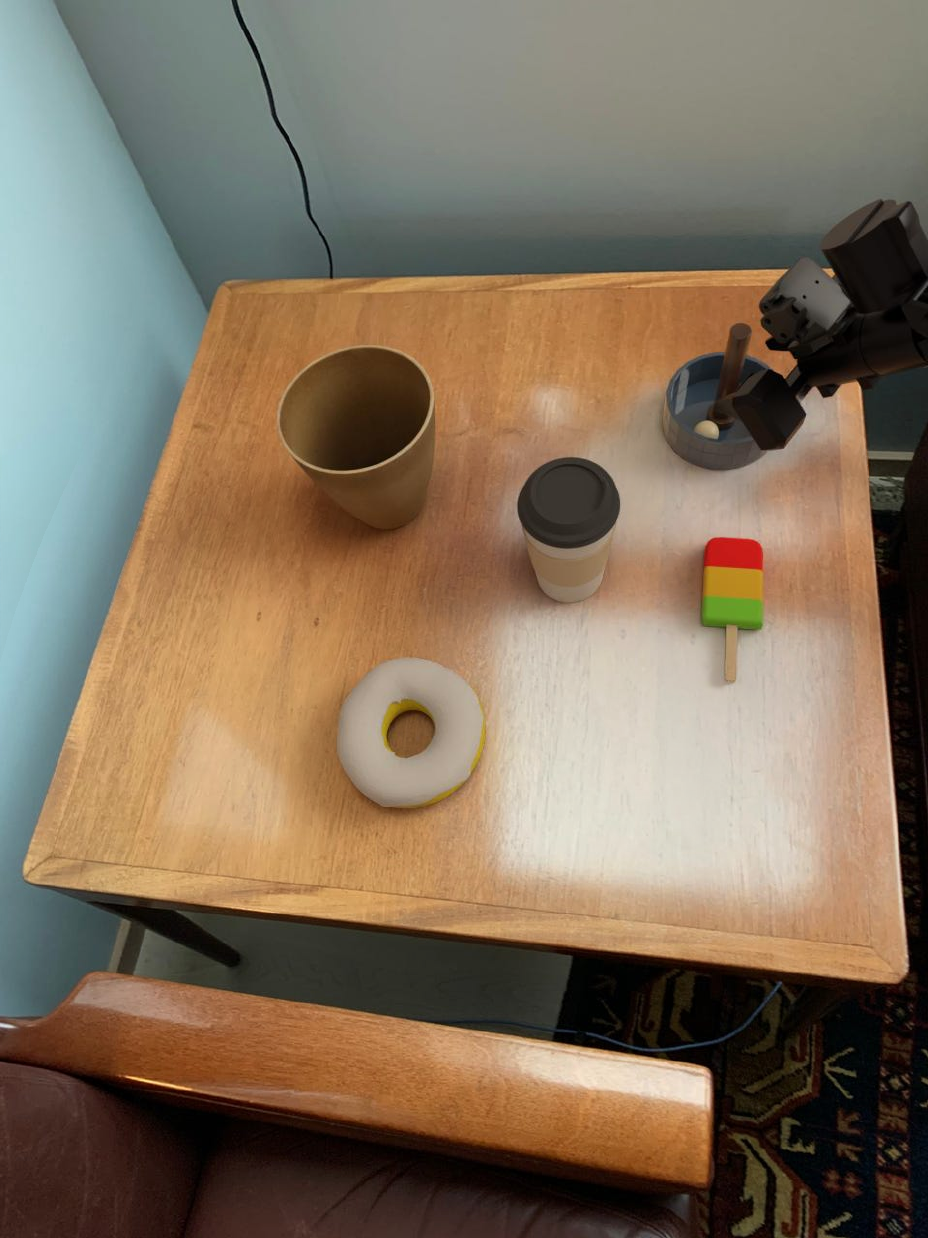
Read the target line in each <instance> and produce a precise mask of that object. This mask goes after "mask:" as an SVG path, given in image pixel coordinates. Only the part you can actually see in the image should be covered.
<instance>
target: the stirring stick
mask: <svg viewBox="0 0 928 1238" xmlns="http://www.w3.org/2000/svg"><path fill="white" fill-rule="evenodd" d="M752 333H753V330H752V328H751V326H750V325H749V324H747V323H745V322H738V323H734V324H733V325H732V326H731V327H730V328H729V332H728V336H727V341H726V346H725V350H724V352H725V355H724V360H723V364H722V369H721V374H720V378H719V383H718V388H717V392H716V397H715V401H716V400H718V399H720V398H722V397H724V396H726V395H729V394H731V393H734V392H736V390H737V389H738V387H739V382H740V378H741V374H742V370H743V366H744V362H745V358H746V355H748V349H749V345H750V342H751V337H752ZM706 421H712V422H713V423H715V424H716V425H717V427H718V429H719V430H726V429H729V428H730V427H732V426H733V424H734V423H735V418H733V417H731V416H728V415H726V414H724V413H722V412H719V411H718V410H717V408H716V407H715V405H714V403H713V404H712V405H711V406H710V407H709V408H708V411H707V416H706Z"/></svg>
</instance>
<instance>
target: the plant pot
mask: <svg viewBox="0 0 928 1238" xmlns="http://www.w3.org/2000/svg"><path fill="white" fill-rule="evenodd" d="M288 383H289V384H288V385H287V386H286V388H285V390H284V391H283V393H282V395H281V397H280V399H279V403H278V405H277V409H276V429H277V433H278V434H277V435H278V437H279V439H280V442H281V444H282V446H283V447H284V449H285V450H286V451H287V452H288V454H289V455H290V456H291V457H292V459H293V461H295V462H296V464H297V465H298V466H299V467H300V468H301V469H302V471H303V472H304V473H305V474H306V475H307V476H308V478H309V479H310V480H311V481H312V482H313V483H314V484H315V485H316V486H317V487H318V488H319V489H320V490H321V491H322V493H324V494H325V495H326V496H327V497H329V498H330V499H331V500H332V501H333V502H334V503H335V504H337V505H338V506H339V507H340V508H342V509H343V510H345V511H346V512H347V513H348V514H350V515H351V516H353V517H355V518H356V519H358V520H359V521H361V522H363V523H365V524H366V525H368V526H370V527H372V528H374V529H378V530H385V531H386V530H395V529H398V528H399V529H400V528H402V527H404V526H406V525H408V524H409V523H412V522H413V521H414V520H415V518H417V516H418V515H419V513H420V512H421V510H422V508H423V505H424V503H425V499H426V496H427V493H428V491H429V486H430V482H431V478H432V472H433V466H434V457H435V448H436V446H435V445H436V405H435V392H434V386H433V384H432V380H431V379H430V376H429V374H428V373H427V371H426V369H425V368H424V367H423V365H422V364H421V363H420V362H419V361H417V360H416V359H415V358H414V357H412V356H411V355H409V354H407V353H405V352H403V351H401V350H399V349H396V348H394V347H390V346H386V345H385V346H384V345H379V344H359V345H351V346H345V347H343V348H339V349H334V350H333V351H330V352H327V353H325V354H324V355H322V356H319V357H318V358H316V359H315V360H313V361H311V362H310V363H309V364H307V365H306V366H305V367H304V368H302V369H301V370H300V371H299V372H298V373H297V374H296V375H295V376H294V377H293V379H291V381H290V382H288Z"/></svg>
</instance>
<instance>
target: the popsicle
mask: <svg viewBox="0 0 928 1238" xmlns="http://www.w3.org/2000/svg"><path fill="white" fill-rule="evenodd" d="M702 570H703V571H702V576H703V577H702V597H701V600H702V602H701V624H702V625H703V626H706V627H717V628H719V627H720V628H725V665H724V666H725V669H724V671H725V672H724V677H725V681H726V682H729V683H734V682H736V680H737V677H738V675H737V674H738V673H737V669H738V629H745V630H746V629H747V630H755V631H756V630H757V631H761V630H762V629H763V626H764V552H763V547H762V544H761V543H760V542H759V541H757V540H755V539H751V538H739V537H726V536H725V537H724V536H719V537H718V536H717V537H713V538H711V539H709V540H707V543H706V544H705V546H704V551H703V569H702Z"/></svg>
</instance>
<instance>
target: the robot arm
mask: <svg viewBox="0 0 928 1238" xmlns="http://www.w3.org/2000/svg"><path fill="white" fill-rule="evenodd" d="M921 225H922V224H921V220H920V217H919V214H918V211H917V209H916V208H915V206H914V204H913V202H912V201H910V200H906V201H904V202H901V203H898V202H897V201H896V200H895V199H885V200H883V199H882V198H879V199H876V200H874V201H871V202H869V203H868V204H865V205H864V206H862V207H860V208H858V209H857V210H855V211H853V212H852V213H850V214H849V215H848V216H846V217H845V218H843V219H842V220H841V221H839V222H838V223H836V225H834V226H833V227H832V228H831V229H830V230H828V232H827V233H826V234H825V235H824V236H823V238H822V239H821V241H820V243H819V246H818V247H819V248H820V251H821V252H822V254H823V256H824V257H825V259H826V261H827V264H828V265H829V266H830V268H831V270H832V271H833V273H834V274H833V275H832V276H830V274H829V273H827V271H825V270H824V269H823V268H822V267H821V266H820V265H819V264H818V263H817V262H816V261H815V260H813V259H812V258H811V257H807V256H803V257H800V258H798V260H796V262H794V263H793V264H792V265H791V266H790V268H788V269H787V270H786V271H784V273H783V274H782V275H781V276H780V277H779V278H778V279H777V280H776V281H775V283H774V284H773V285H772V286H771V287H770V289H769V290H768V291H767V292H766V293H765V295H764V296H763V297H762V298H761V299H760V301H759V303H758V309H759V311H760V313H761V314H762V317H761V318H760V320H759V321H760V326H761V327H762V329H764V330H765V331H766V332H767V333H768V334H769V335H770V336H769V337H768V338H767V339H766V340H765V341H764V344H765V346H766V347H767V349H768V350H769V351H774V352H789V353H790V355H791V356H792V358H793V359H794V360H796V365H794V367H793V368H792V369H791V371H790V372H789V373H788V374H787V376H786V377H784V376H783V374H781V373H779V372H777V371H775V370H774V369H773V370H774V371H773V370H771V369H766V370H761V371H759V372H757V373H756V374H754V375H753V373H752V372H751V373H750V374H749V376H748V377H747V378H746V379H745V380H744V382H743V383H742V384H741V385H740V386H739V388H738V389H737V390H736V392H734V393H731V394H729V395H726V396H724V397H722V398H720V399H718V400H716V401H715V402H714V405H715V407H716V408H717V410H718V411H719V412H722V413H724V414H726V415H728V416H731V417H733V418H735V419H737V420H740V421H742V422H743V424H744V426H745V427H746V429H747V430H748V432H749V433H750V435H751V436H752V438H753V439H754V441H755V442H756V444H757V445H758V447H759V448H760V450H761V451H768V452H769V451H778V450H784V449H785V448H786V446H787V445H788V444H789V442H790V441H791V440H792V439H793V438H794V436H795V435H796V434H797V433H798V431H799V430H800V429H801V428H802V426H803V425H804V424H805V420H806V417H807V415H808V414H807V412H806V411H805V409H804V407H803V406H802V405H801V403H802V402H803V400H804V399H805V398H806V397H807V395H808V394H809V393H810V392H811V391H812V389H813V388H815V387H816V390H817V391H818V392H819V394H820V396H821V398H822V399H827V398H833V396H834V395H835V394H836V393H837V391H838V390H839V389H840V388H841V386H843V385H847V384H852V383H856V382H857V383H858V385H859V387H860V389H861V390H862V391H867V390H873V389H874V388H875V387H876V385H877V384H878V383H879V381H880V380H881V379H882V378H883V377H885V376H890V375H895V374H900V373H904V372H910V371H914V370H915V371H916V370H919V369H925V368H928V238H927V235H926V234H925V231H924V230H923V227H922V226H921Z"/></svg>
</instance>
